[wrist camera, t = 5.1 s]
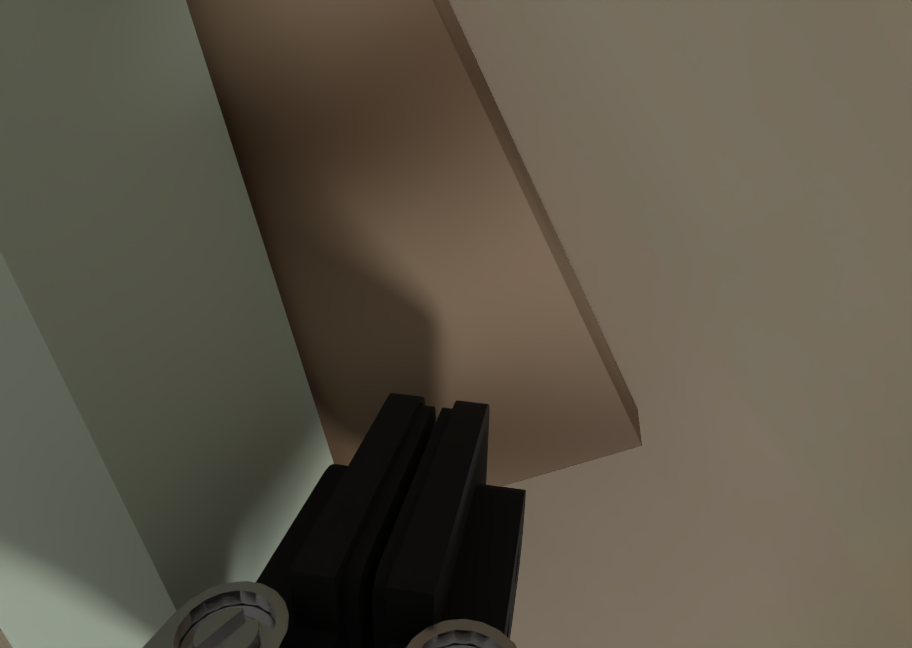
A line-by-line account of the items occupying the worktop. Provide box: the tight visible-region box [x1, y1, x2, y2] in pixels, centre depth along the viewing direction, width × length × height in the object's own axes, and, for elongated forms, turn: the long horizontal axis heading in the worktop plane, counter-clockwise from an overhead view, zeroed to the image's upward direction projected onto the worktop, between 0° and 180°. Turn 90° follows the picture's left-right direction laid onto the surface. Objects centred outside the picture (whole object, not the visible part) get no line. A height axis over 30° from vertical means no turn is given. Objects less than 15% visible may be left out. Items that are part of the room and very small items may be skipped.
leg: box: [0, 0, 334, 648], centre depth 9 cm, size 16×4×5 cm, turn 11°
